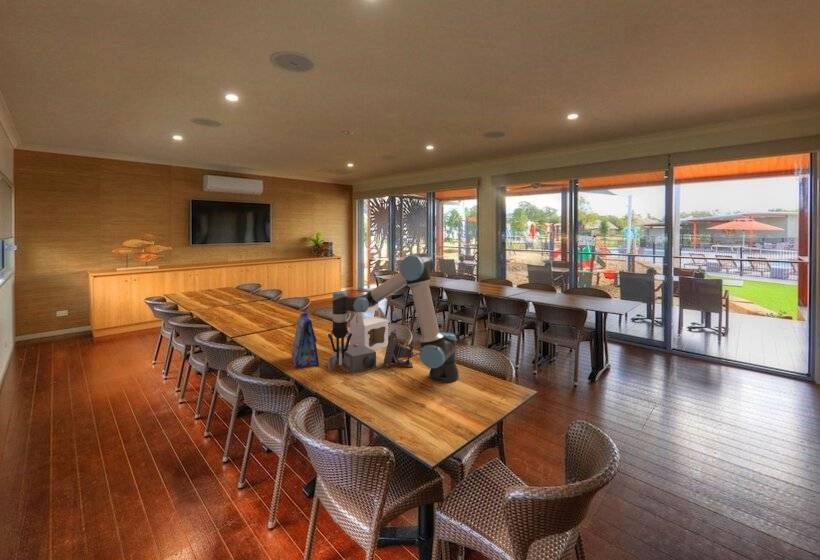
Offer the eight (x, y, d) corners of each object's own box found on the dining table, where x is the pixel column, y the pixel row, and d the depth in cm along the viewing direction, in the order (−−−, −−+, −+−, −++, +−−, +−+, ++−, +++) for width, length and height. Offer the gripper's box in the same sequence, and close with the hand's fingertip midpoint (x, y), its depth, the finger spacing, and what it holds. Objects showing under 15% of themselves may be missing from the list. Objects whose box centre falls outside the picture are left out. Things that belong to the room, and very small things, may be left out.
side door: (330, 370, 204) (330, 358, 204) (327, 370, 205) (327, 358, 204) (340, 362, 216) (340, 351, 216) (337, 362, 217) (337, 351, 216)
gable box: (373, 342, 262) (373, 301, 259) (388, 345, 254) (388, 303, 251) (349, 349, 245) (349, 306, 242) (364, 353, 237) (364, 308, 234)
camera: (410, 375, 212) (420, 340, 210) (381, 367, 211) (390, 332, 209) (410, 368, 223) (419, 335, 221) (382, 360, 222) (391, 327, 220)
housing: (378, 368, 211) (377, 351, 210) (354, 373, 203) (354, 355, 202) (359, 358, 229) (358, 341, 228) (336, 362, 221) (336, 345, 220)
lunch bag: (319, 366, 215) (318, 315, 211) (294, 369, 210) (292, 316, 206) (314, 354, 235) (313, 307, 231) (291, 357, 230) (289, 309, 226)
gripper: (351, 318, 210) (351, 360, 213) (326, 319, 207) (327, 362, 210) (353, 321, 203) (353, 365, 206) (327, 323, 199) (328, 367, 202)
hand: (340, 363), depth 208 cm, fingers closed
